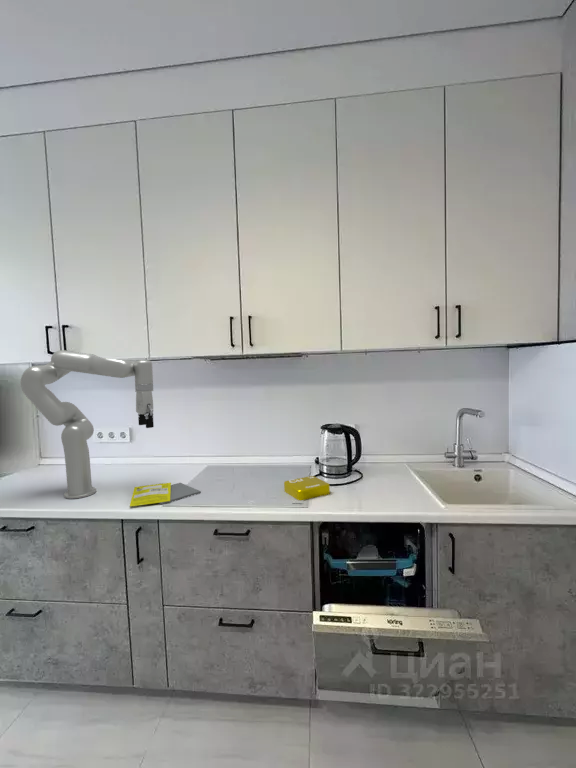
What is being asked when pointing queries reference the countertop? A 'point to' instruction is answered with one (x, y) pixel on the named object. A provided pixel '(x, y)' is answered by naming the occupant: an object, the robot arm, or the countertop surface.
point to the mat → (180, 492)
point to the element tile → (306, 488)
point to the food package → (151, 494)
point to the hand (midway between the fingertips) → (146, 426)
